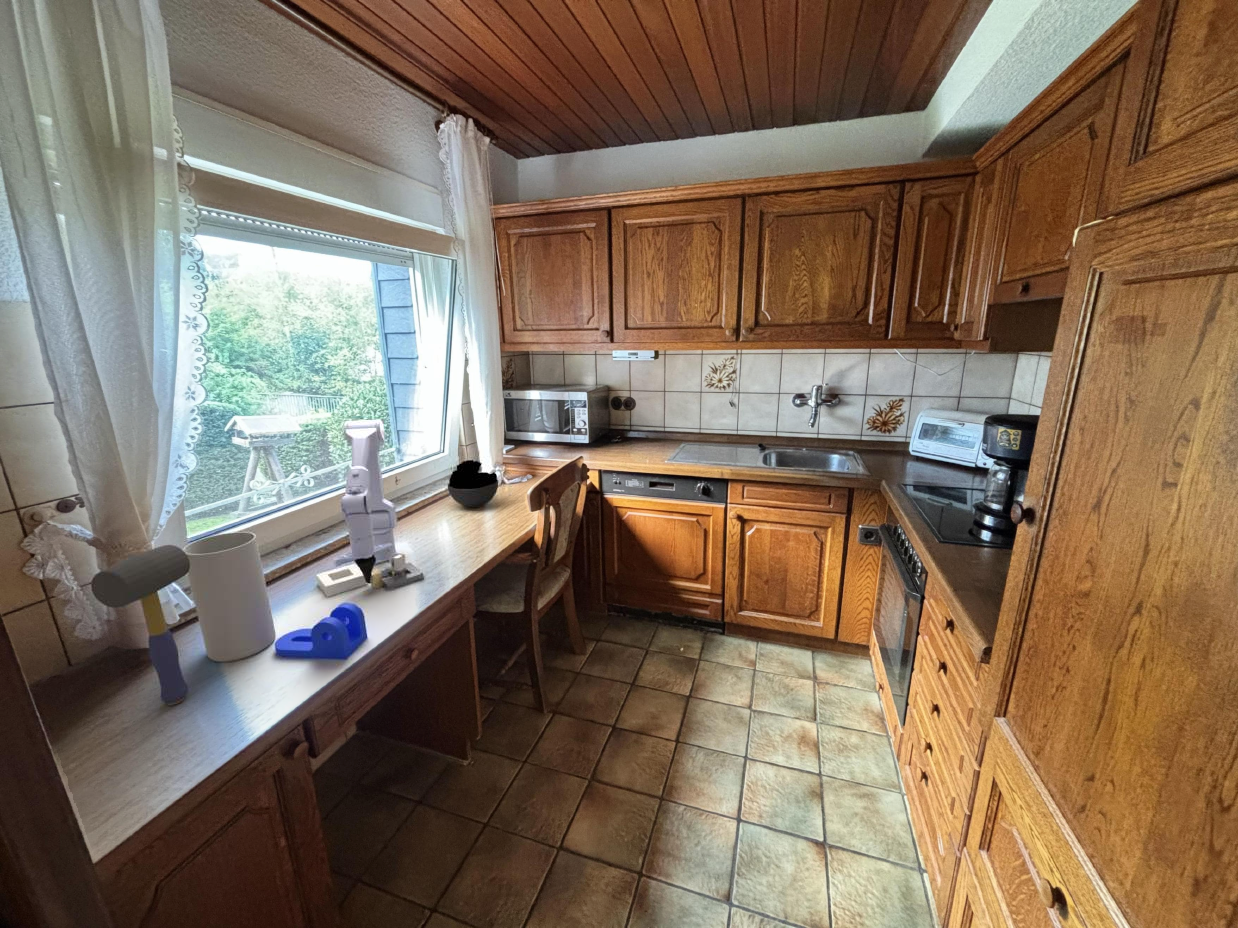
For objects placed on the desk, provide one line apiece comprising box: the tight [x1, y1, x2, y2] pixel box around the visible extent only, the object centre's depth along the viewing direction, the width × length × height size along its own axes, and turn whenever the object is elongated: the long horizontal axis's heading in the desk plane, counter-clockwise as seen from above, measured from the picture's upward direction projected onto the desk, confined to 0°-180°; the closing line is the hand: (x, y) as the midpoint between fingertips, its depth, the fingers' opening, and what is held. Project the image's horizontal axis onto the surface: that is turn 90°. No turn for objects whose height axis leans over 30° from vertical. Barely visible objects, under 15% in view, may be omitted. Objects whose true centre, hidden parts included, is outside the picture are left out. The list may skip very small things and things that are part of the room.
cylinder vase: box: [182, 531, 276, 663], centre depth 111 cm, size 12×12×25 cm
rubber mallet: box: [90, 544, 190, 706], centre depth 93 cm, size 12×8×30 cm, turn 175°
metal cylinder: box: [389, 552, 407, 579], centre depth 145 cm, size 4×4×7 cm
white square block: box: [316, 563, 368, 598], centre depth 142 cm, size 10×10×3 cm
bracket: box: [274, 602, 368, 661], centre depth 112 cm, size 18×8×9 cm, turn 85°
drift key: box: [369, 568, 390, 589], centre depth 142 cm, size 3×5×4 cm, turn 133°
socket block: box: [379, 562, 425, 591], centre depth 145 cm, size 10×10×2 cm
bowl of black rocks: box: [447, 459, 499, 508], centre depth 206 cm, size 20×20×19 cm
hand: (368, 582), depth 140 cm, fingers closed
